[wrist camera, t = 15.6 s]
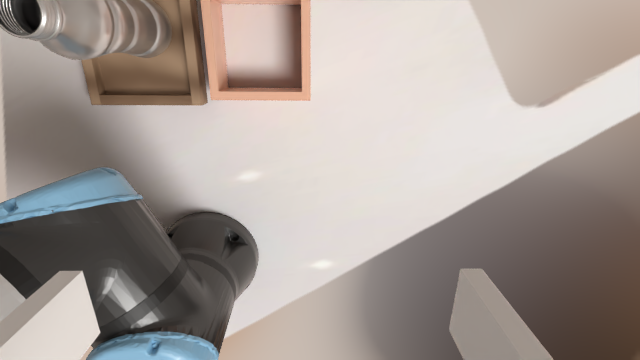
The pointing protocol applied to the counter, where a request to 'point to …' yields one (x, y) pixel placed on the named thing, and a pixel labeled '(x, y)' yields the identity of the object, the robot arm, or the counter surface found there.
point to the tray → (154, 67)
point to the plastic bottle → (89, 26)
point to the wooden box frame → (217, 55)
